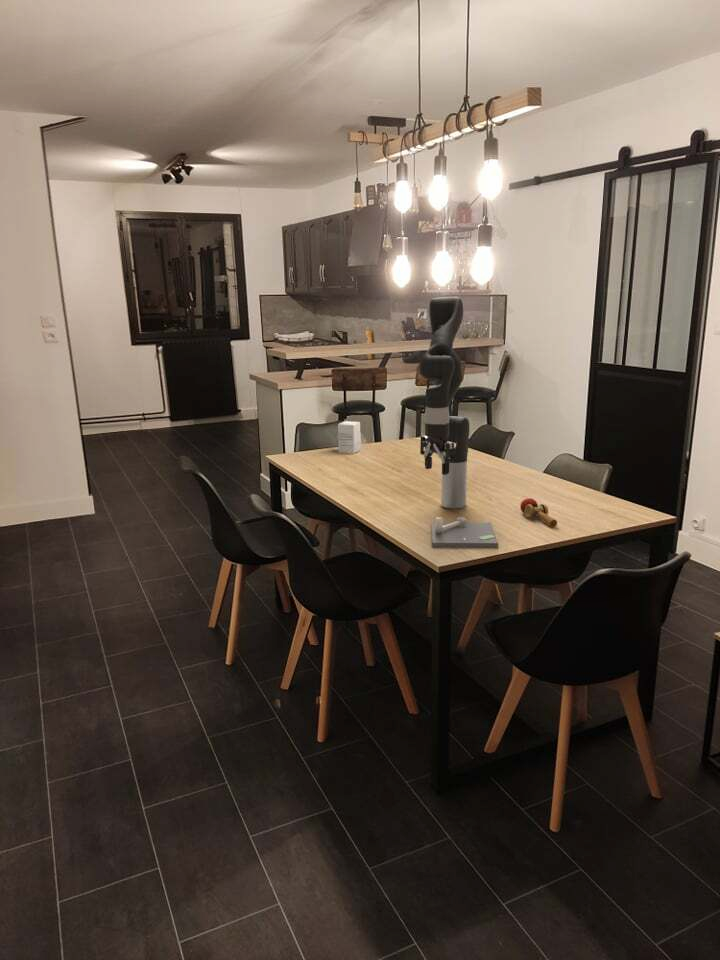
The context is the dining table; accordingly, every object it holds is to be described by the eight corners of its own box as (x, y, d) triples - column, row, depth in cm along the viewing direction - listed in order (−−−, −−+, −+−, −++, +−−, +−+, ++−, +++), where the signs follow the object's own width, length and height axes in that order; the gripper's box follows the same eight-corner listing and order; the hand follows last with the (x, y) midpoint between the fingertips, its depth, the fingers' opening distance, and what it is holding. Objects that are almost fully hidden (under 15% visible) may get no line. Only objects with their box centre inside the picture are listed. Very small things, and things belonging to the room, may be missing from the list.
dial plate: (430, 526, 227) (430, 521, 227) (490, 526, 226) (491, 521, 225) (432, 547, 208) (432, 542, 208) (498, 547, 207) (498, 542, 206)
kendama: (564, 529, 226) (534, 507, 242) (564, 513, 223) (534, 492, 239) (544, 536, 224) (515, 513, 240) (543, 519, 221) (514, 498, 237)
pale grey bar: (461, 522, 225) (461, 509, 224) (467, 524, 223) (468, 511, 222) (432, 531, 217) (432, 518, 216) (439, 533, 215) (439, 520, 213)
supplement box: (345, 449, 348) (344, 420, 344) (361, 450, 344) (360, 421, 341) (338, 453, 340) (337, 423, 336) (354, 454, 336) (353, 424, 333)
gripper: (413, 419, 212) (413, 468, 217) (441, 425, 201) (441, 478, 205) (432, 416, 216) (432, 465, 221) (461, 422, 204) (460, 474, 209)
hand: (436, 471), depth 213 cm, fingers open, 8 cm apart
